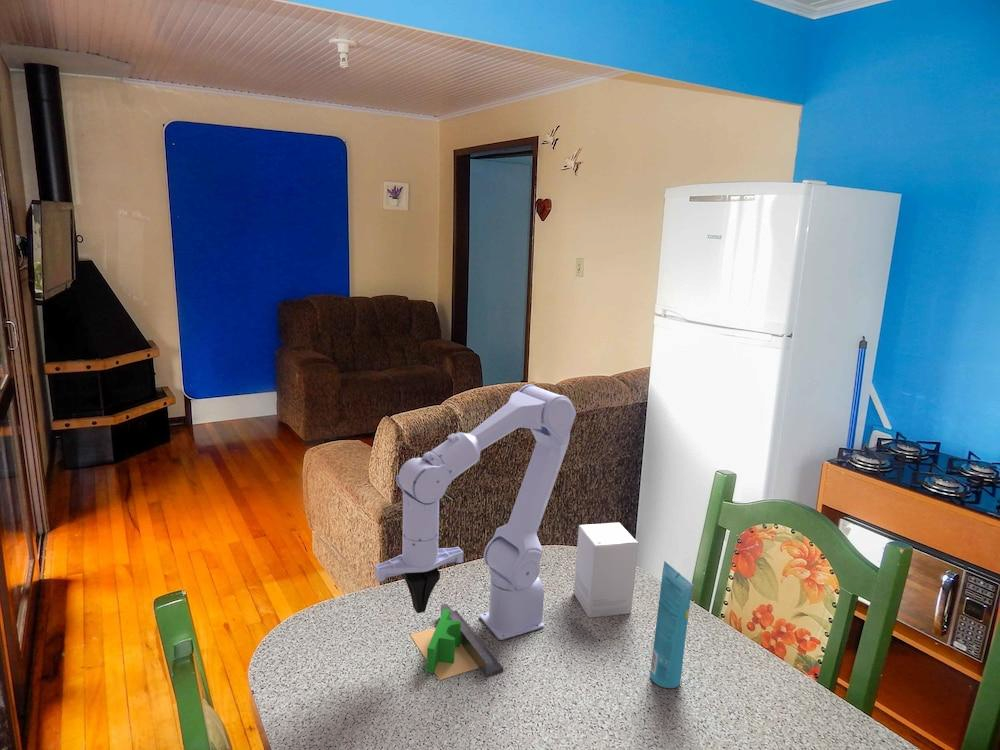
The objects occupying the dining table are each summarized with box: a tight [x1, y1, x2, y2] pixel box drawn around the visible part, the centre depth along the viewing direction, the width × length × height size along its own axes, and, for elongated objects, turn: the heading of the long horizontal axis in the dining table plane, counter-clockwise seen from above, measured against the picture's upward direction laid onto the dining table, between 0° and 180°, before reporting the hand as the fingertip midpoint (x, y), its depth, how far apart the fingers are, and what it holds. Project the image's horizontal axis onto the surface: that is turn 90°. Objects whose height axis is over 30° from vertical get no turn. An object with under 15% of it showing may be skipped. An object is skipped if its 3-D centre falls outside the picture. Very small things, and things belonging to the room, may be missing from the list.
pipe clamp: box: [426, 609, 461, 674], centre depth 109 cm, size 11×4×5 cm, turn 171°
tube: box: [649, 560, 694, 689], centre depth 104 cm, size 7×5×19 cm, turn 26°
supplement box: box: [573, 521, 639, 619], centre depth 125 cm, size 9×9×15 cm
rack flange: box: [409, 603, 504, 681], centre depth 111 cm, size 10×18×2 cm, turn 29°
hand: (419, 609), depth 106 cm, fingers closed
